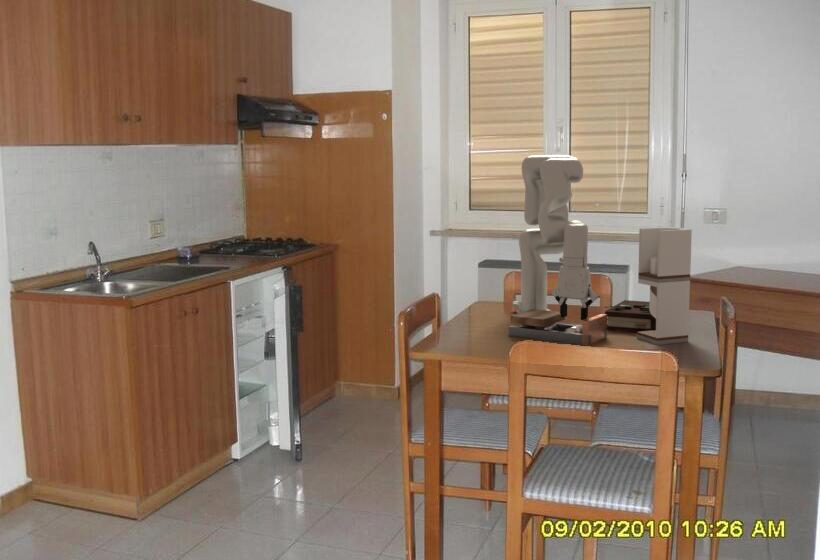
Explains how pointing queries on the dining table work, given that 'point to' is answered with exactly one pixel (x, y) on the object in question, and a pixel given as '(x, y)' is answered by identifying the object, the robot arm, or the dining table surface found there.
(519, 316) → the slab
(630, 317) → the decorative book
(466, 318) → the dining table surface
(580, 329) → the roller
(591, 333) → the track
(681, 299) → the white tower
